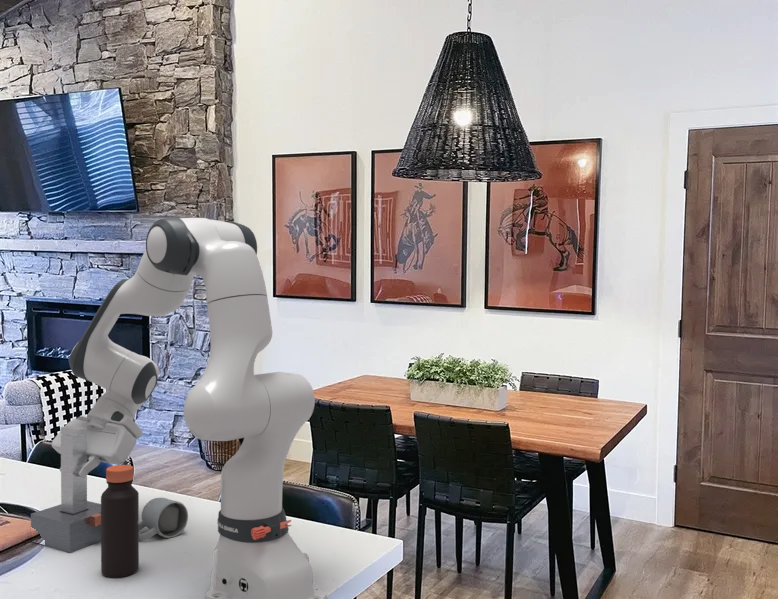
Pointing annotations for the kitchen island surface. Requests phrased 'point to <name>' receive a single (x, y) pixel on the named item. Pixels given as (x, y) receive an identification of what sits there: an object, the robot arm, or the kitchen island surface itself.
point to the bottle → (119, 523)
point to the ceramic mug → (163, 518)
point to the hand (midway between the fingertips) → (71, 474)
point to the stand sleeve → (68, 527)
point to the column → (73, 469)
